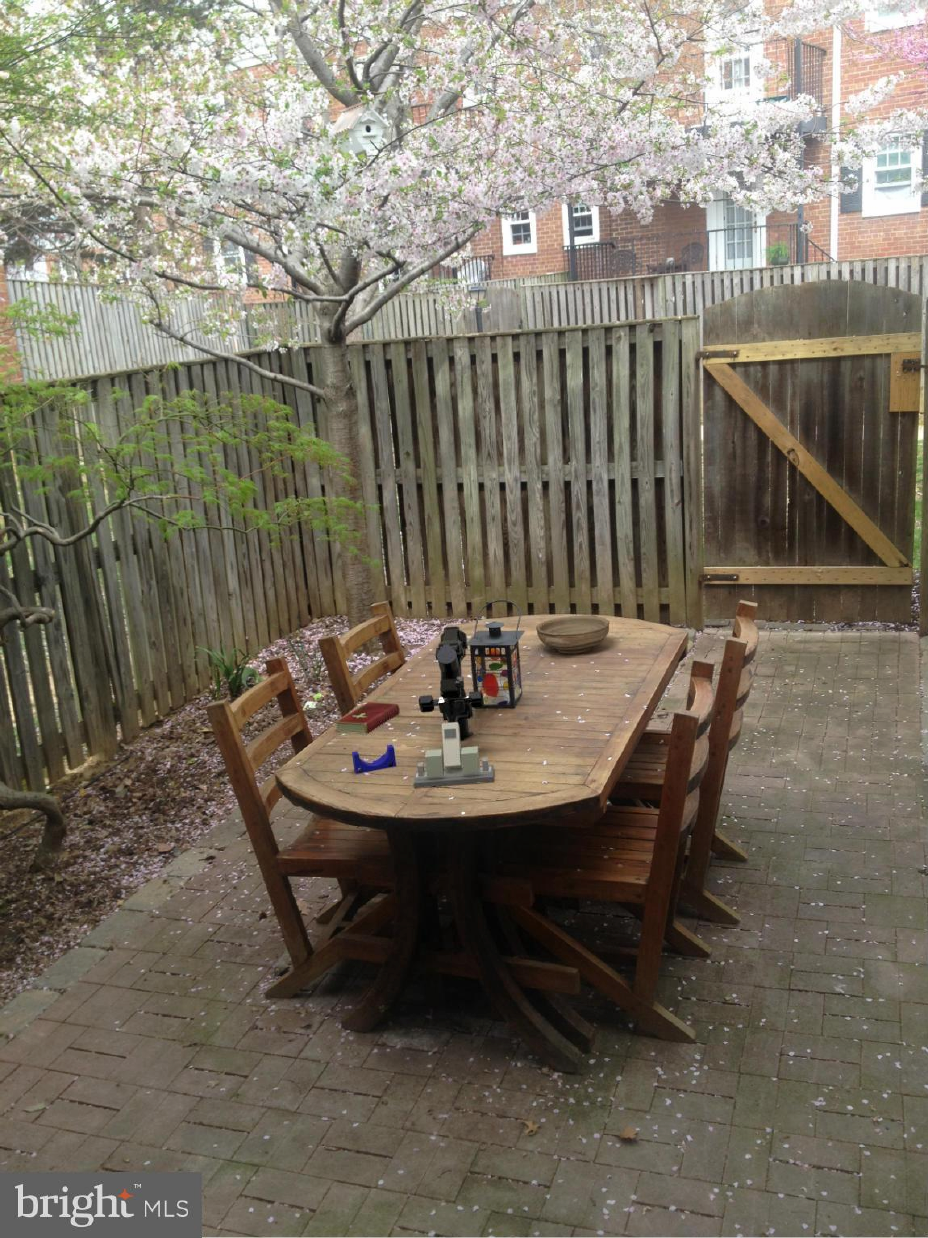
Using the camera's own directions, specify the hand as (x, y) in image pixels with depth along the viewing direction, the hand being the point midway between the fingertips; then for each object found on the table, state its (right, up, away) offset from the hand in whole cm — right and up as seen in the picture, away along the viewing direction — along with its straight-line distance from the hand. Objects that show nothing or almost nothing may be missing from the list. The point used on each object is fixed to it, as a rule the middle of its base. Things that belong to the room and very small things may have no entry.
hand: (452, 727), depth 308 cm
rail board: (+1, -13, -10) cm, 17 cm away
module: (0, -10, -11) cm, 15 cm away
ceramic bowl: (+47, +19, +111) cm, 122 cm away
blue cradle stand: (-23, -13, +5) cm, 27 cm away
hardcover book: (-28, -4, +47) cm, 55 cm away
